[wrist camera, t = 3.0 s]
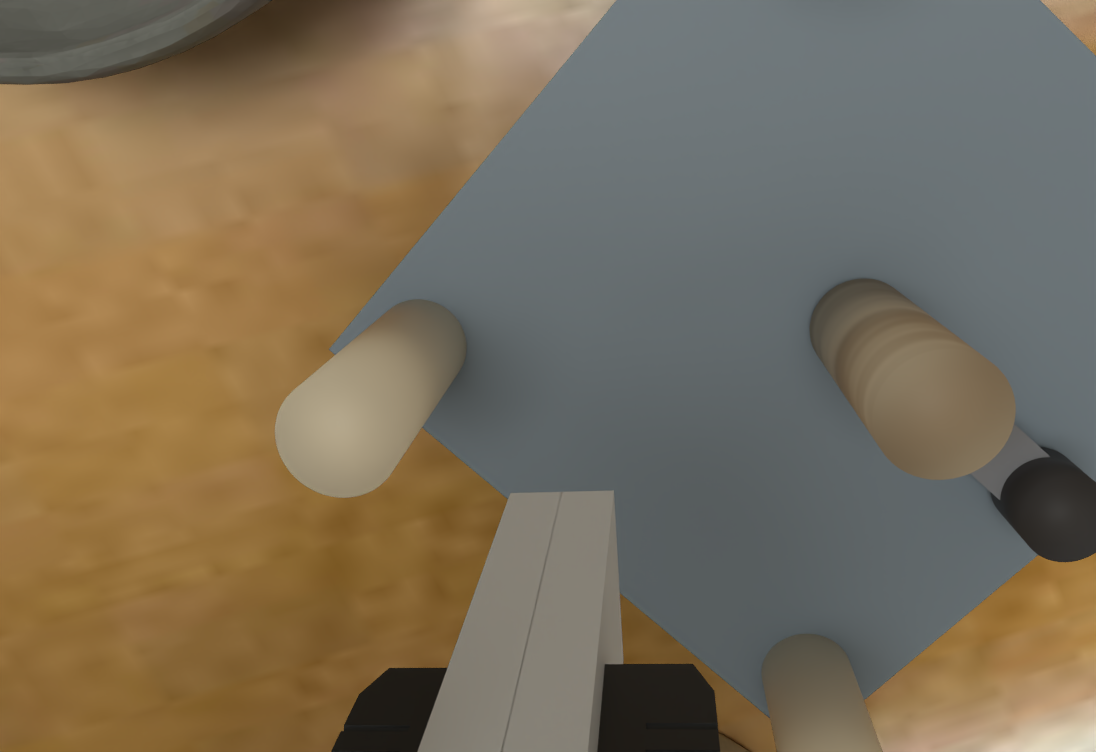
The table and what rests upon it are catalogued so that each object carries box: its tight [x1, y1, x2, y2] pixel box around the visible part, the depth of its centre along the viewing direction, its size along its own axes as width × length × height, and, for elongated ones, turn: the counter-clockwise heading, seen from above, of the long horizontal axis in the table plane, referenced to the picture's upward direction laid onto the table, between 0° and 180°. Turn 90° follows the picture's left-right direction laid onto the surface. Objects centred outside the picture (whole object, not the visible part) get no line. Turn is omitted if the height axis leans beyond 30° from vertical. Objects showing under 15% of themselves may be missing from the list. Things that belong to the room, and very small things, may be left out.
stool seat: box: [275, 0, 1096, 752], centre depth 25 cm, size 20×20×11 cm
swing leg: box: [810, 279, 1096, 562], centre depth 24 cm, size 10×3×8 cm, turn 49°
